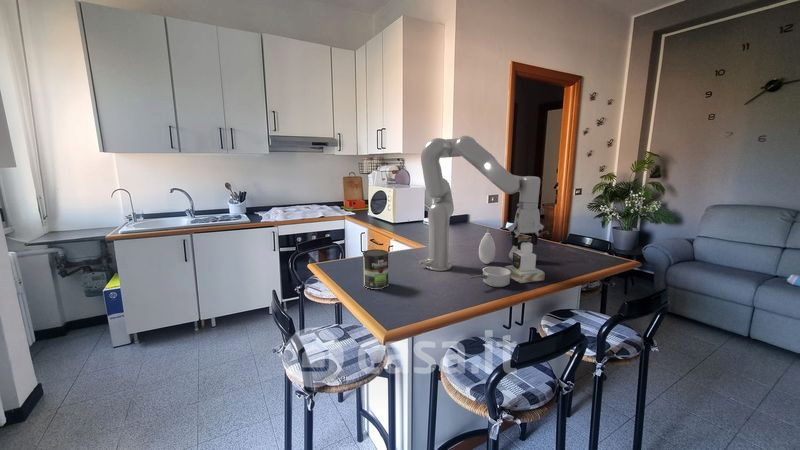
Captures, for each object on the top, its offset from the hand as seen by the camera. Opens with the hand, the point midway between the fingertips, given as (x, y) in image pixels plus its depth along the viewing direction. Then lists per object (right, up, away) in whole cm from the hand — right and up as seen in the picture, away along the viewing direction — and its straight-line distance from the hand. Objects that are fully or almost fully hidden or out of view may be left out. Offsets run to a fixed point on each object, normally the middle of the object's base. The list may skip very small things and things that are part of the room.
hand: (524, 245), depth 144 cm
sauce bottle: (-11, -11, +22) cm, 26 cm away
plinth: (+1, -14, +3) cm, 14 cm away
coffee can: (-64, -16, -7) cm, 66 cm away
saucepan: (-17, -16, -7) cm, 25 cm away
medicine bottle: (0, -11, +2) cm, 11 cm away
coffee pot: (+12, -10, +27) cm, 31 cm away
